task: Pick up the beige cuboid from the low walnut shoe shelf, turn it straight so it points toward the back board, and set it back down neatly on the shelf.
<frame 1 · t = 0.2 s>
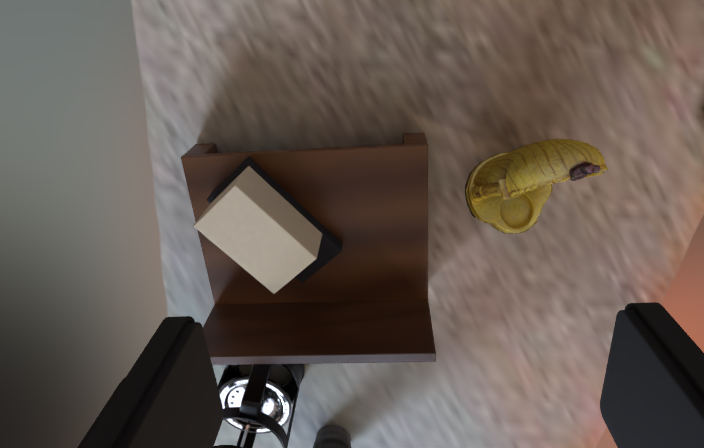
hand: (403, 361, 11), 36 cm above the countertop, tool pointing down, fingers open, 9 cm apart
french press: (267, 361, 60), on the countertop
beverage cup: (333, 436, 65), on the countertop
beige cuboid: (278, 219, 46), point 4 cm above the countertop, touching shoe shelf
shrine: (508, 163, 47), on the countertop
shoe shelf: (316, 218, 50), on the countertop
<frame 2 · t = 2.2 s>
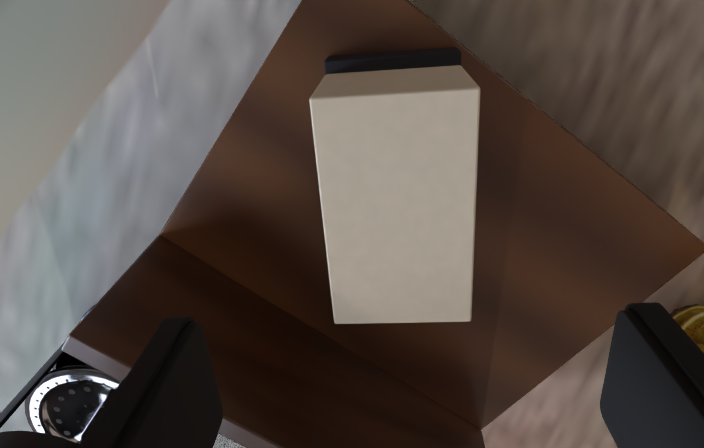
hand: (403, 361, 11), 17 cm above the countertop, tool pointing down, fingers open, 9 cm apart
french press: (152, 345, 34), on the countertop
beige cuboid: (396, 184, 23), point 4 cm above the countertop, touching shoe shelf
shoe shelf: (415, 214, 28), on the countertop
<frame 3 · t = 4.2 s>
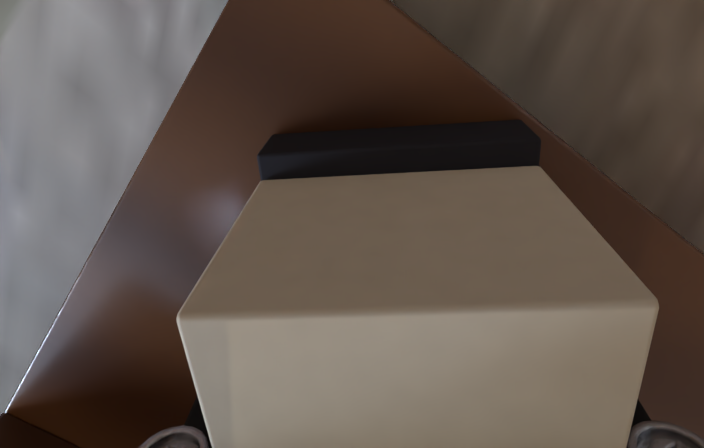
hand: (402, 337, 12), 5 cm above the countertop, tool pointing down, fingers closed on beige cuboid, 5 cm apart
beige cuboid: (402, 346, 13), point 4 cm above the countertop, touching gripper, shoe shelf
shoe shelf: (427, 347, 18), on the countertop
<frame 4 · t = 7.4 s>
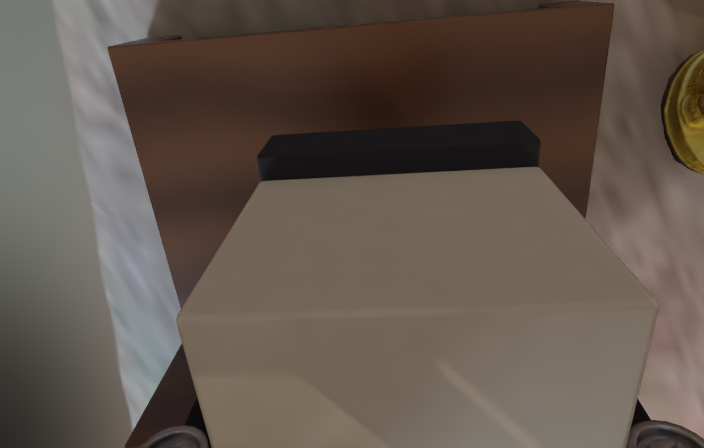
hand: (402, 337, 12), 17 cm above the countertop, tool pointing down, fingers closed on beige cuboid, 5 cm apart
beige cuboid: (402, 346, 13), point 16 cm above the countertop, touching gripper
shoe shelf: (366, 178, 28), on the countertop
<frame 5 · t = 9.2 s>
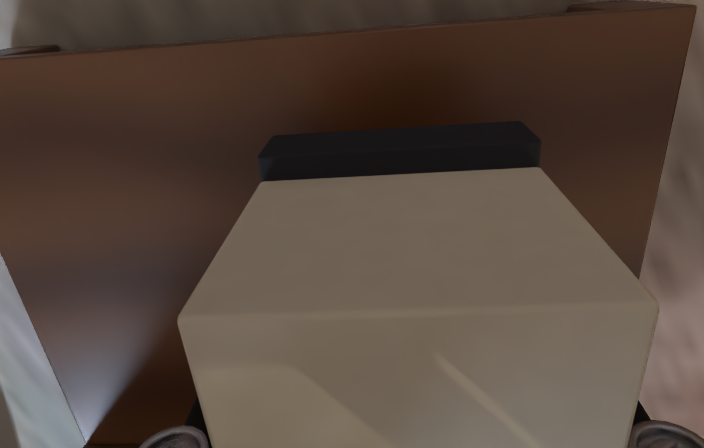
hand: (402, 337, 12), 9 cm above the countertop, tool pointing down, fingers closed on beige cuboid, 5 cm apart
beige cuboid: (402, 347, 13), point 8 cm above the countertop, touching gripper
shoe shelf: (325, 239, 21), on the countertop
when the fingers open (5 cm above the countertop, at t = 10.6 s): beige cuboid stays where it is, resting on shoe shelf.
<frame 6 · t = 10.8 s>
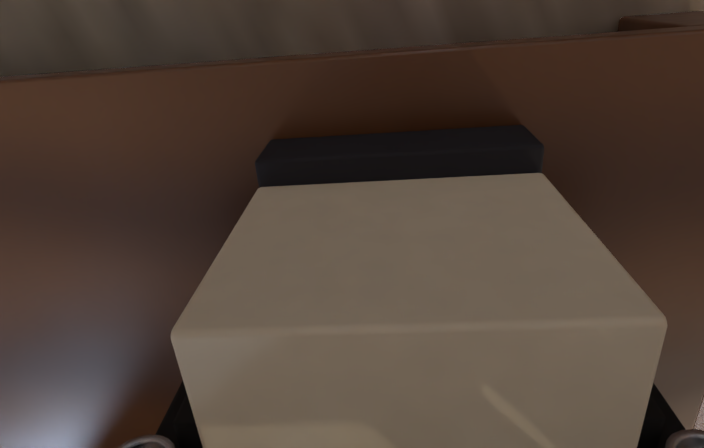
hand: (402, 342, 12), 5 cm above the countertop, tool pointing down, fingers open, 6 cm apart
beige cuboid: (402, 352, 13), point 4 cm above the countertop, touching shoe shelf
shoe shelf: (313, 298, 17), on the countertop
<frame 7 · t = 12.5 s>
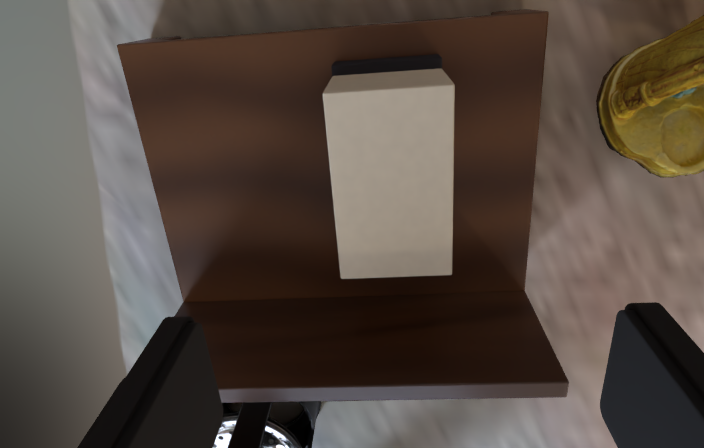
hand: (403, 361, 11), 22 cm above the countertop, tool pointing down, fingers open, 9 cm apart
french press: (266, 387, 41), on the countertop
beige cuboid: (390, 168, 28), point 4 cm above the countertop, touching shoe shelf
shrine: (662, 63, 28), on the countertop
shoe shelf: (344, 164, 32), on the countertop
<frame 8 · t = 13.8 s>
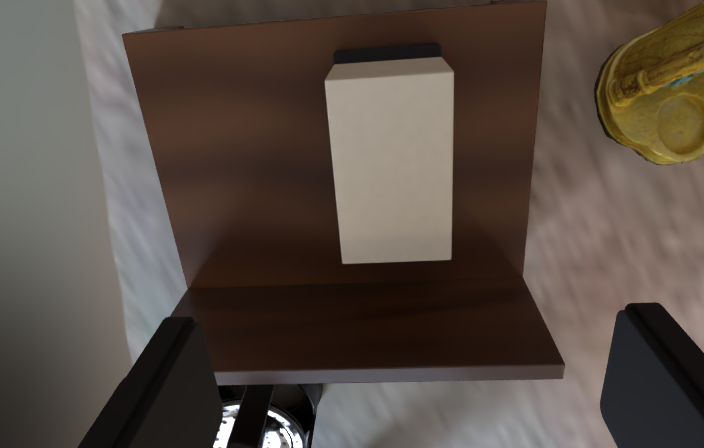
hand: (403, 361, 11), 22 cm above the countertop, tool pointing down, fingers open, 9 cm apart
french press: (269, 374, 41), on the countertop
beige cuboid: (391, 156, 28), point 4 cm above the countertop, touching shoe shelf
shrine: (660, 52, 29), on the countertop
shoe shelf: (345, 153, 32), on the countertop
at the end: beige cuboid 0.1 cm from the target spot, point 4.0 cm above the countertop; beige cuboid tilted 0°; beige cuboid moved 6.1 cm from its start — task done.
